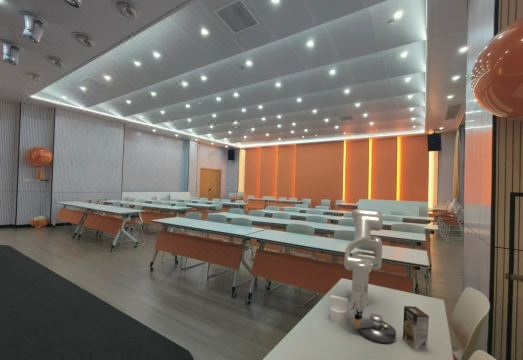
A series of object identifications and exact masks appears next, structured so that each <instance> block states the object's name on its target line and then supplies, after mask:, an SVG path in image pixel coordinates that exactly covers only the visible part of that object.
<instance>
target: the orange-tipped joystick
mask: <svg viewBox="0 0 523 360" xmlns="http://www.w3.org/2000/svg"><path fill="white" fill-rule="evenodd" d="M382 321H384V317H383V316H382V315H380V314H378V313H373V312H372V313H370V314H369V317H362V318H355V317H354V321H353V322H354V326H353V327H354V328H355V329H356V330H357V329H359V328H369V327H372V328H374V329H377V330H380V329H381V328H382Z"/></svg>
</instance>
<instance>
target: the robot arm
mask: <svg viewBox="0 0 523 360" xmlns="http://www.w3.org/2000/svg"><path fill="white" fill-rule="evenodd" d="M351 217H352V221H353V223H354V225H355V228H354V239H352V241H350V243H349V244H347V246H346V248H345V252H344V261H343V262H344V263H343V264H344V268H345V269H346V270H347V271H351V272H352V281H351V282H352V285H351V290H349V289H346V290H345V293H346V294H347V295H349V298H348V300H349V301H350V306H349V307H350V309H351V310H353V315H354V319H355V318H363V313H364V309H365V308H366V306H367V305H369V304H371V300H370V299H369V295H368V294H369V293H368V292H369V277H370V275H369V274H370V273H371V271H373V269H374V270H379V269H381V268H382V263H383V262H382V260H383V257H382V256H383V241H382V238H381V237H379V236H375V235H371V234H372V233H371V232H372V231H378V232H380V231H381V230H382V229H383V225H384V224H383V222H384V221H383V215H382V212H381V211H380V210H376V209H365V208H364V209H362V208H355V209H353V210H352V213H351ZM355 248H357V249H359V250H358V251H355V252H353V253H352V255H351V252H352V251H353V250H354V249H355ZM360 250H361V251H360ZM367 251H368V252H367Z"/></svg>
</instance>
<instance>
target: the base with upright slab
mask: <svg viewBox="0 0 523 360" xmlns="http://www.w3.org/2000/svg"><path fill="white" fill-rule="evenodd" d="M348 309H349V298H347V297H343V296H339V295H333V294H331V295H330V309H329V311H330V313H329V316H330V317H329V319H330V321H331V320H332V321H331V322H333V323H335V324H337V323H338V324H337V325H346V324H347V323H348V314H349V313H348Z"/></svg>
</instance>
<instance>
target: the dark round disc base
mask: <svg viewBox="0 0 523 360" xmlns="http://www.w3.org/2000/svg"><path fill="white" fill-rule="evenodd" d="M356 330H357V331H358V333H359V334H360V335H361V336H363V337H364V338H366V339H367V340H370V341H373V342H374V343H375V342H376V343H381V344H391V343H393V342H395V341H397V340H396V339H397V331H396V329H395V327H393V326H392V325H391V324H390V323H388V322H385V321H384V320H383V321H382V328H381V329H380V330H377V329H374V328H372V327H369V328H359V329H356Z"/></svg>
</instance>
